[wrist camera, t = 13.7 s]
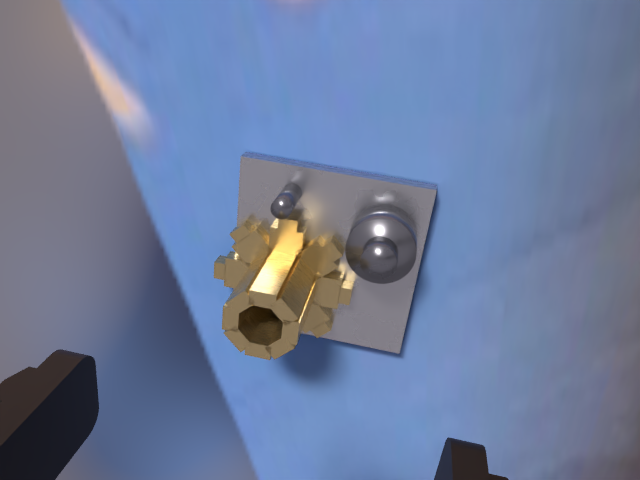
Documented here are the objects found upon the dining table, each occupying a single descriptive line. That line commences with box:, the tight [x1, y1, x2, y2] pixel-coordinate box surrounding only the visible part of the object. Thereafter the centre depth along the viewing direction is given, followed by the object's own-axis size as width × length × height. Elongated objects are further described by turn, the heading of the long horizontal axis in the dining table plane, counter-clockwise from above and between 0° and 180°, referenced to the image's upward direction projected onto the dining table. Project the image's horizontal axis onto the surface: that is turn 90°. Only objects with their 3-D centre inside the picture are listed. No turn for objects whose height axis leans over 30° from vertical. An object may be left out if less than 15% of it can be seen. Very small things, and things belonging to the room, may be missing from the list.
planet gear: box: [214, 213, 354, 360], centre depth 39 cm, size 11×11×7 cm
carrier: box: [233, 152, 437, 354], centre depth 39 cm, size 14×14×6 cm
